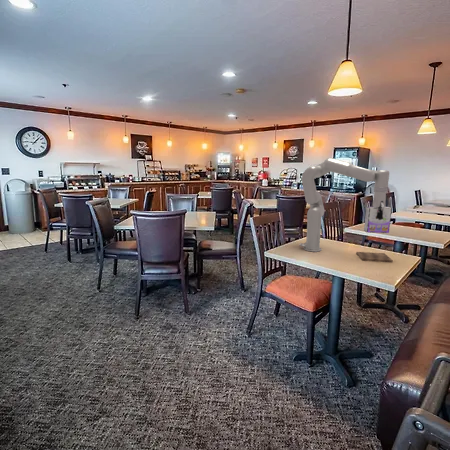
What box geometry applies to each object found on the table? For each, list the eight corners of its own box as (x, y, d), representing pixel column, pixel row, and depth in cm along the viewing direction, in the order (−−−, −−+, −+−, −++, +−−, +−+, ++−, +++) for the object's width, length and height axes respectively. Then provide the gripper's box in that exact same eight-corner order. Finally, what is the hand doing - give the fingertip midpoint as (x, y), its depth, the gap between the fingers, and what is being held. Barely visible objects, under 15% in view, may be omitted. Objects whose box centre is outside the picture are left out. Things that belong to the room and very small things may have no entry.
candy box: (385, 231, 198) (388, 206, 194) (389, 233, 192) (392, 207, 189) (363, 230, 199) (366, 206, 196) (366, 232, 193) (369, 207, 190)
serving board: (362, 260, 192) (362, 258, 192) (356, 253, 208) (356, 251, 208) (392, 262, 189) (392, 260, 189) (384, 255, 205) (384, 253, 204)
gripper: (370, 188, 199) (367, 215, 202) (378, 190, 182) (375, 219, 186) (382, 189, 198) (379, 215, 201) (392, 191, 181) (388, 220, 184)
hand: (377, 217), depth 193 cm, fingers closed on candy box, 6 cm apart
